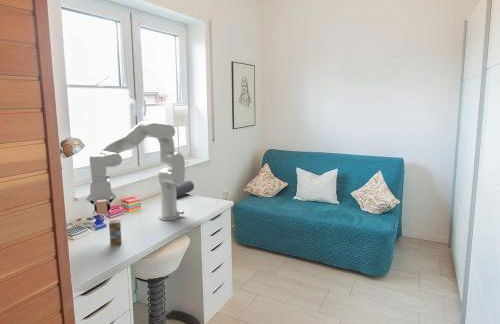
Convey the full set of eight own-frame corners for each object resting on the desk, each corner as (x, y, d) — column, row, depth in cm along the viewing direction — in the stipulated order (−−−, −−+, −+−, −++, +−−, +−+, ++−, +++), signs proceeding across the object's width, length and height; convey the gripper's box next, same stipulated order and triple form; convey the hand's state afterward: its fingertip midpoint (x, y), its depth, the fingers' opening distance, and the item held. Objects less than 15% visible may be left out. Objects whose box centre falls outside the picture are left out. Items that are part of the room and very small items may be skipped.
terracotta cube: (108, 210, 195) (107, 199, 194) (107, 213, 190) (106, 202, 189) (98, 211, 194) (97, 200, 193) (97, 214, 189) (96, 203, 188)
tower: (121, 241, 192) (120, 219, 189) (120, 245, 187) (119, 222, 185) (111, 242, 190) (110, 220, 188) (110, 246, 185) (109, 223, 183)
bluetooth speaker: (185, 191, 291) (185, 179, 290) (194, 193, 287) (194, 180, 285) (165, 198, 272) (165, 185, 270) (175, 199, 268) (174, 186, 266)
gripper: (117, 175, 194) (120, 207, 198) (83, 177, 190) (86, 210, 193) (116, 178, 187) (119, 212, 191) (80, 181, 183) (84, 215, 186)
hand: (102, 211), depth 192 cm, fingers closed on terracotta cube, 4 cm apart
